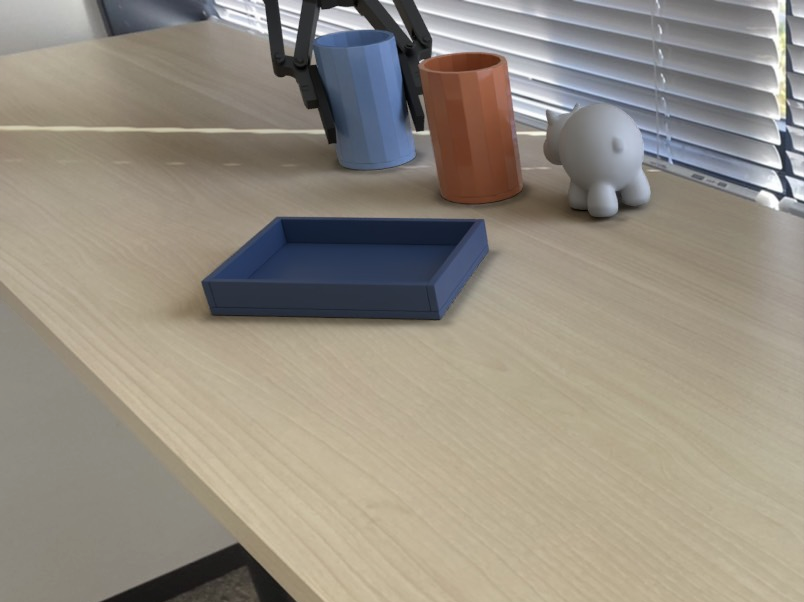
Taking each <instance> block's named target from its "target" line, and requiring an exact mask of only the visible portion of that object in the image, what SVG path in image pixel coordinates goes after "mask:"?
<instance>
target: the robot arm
mask: <svg viewBox="0 0 804 602" xmlns="http://www.w3.org/2000/svg"><path fill="white" fill-rule="evenodd" d="M391 1H392V2H393V5H394V7H395V9H396V11H397V13H398V15H399V17H400V19H401V22H402V23H403V25H404V27H405V29H406V31H407V33H408V35H409V36H408V35H407V33H406V32H405V31H404V30H403V29H402V27H401V26H400V25H399V24H398V23H397V21H396V20H395V19H394V18H393V16H392V15H391V14H390V13H389V11H388V10H387V9H386V7H384V5H383V4H382V3H381V1H380V0H302V1H301V7H300V14H299V21H298V27H297V32H296V38H295V44H294V51H293V56H292V55H288V54H286V51H285V43H284V36H283V28H282V18H281V12H280V11H281V10H280V5H279V0H262V3H263V5H264V11H265V20H266V27H267V35H268V42H269V43H268V44H269V52H270V59H271V64H272V71H273V74H274V75H275V77H277V78H284V77H286V76H287V77H290V78H291V77H292V78H293V79H294V80H295V82H296V85H298V89H299V92H300V95H301V98H302V102H303V105H304V106H305V108H306V109H307V110H315V109H317V111H318V114H319V117H320V121H321V123H322V127H323V131H324V133H325V137H326V141H327V143H328V145H335V144H336V143H337V140H336V128H335V125H334V121H333V118H332V115H331V111H330V108H329V105H328V101H327V98H326V95H325V91H324V88H323V85H322V82H321V78H320V75H319V72H318V68H317V64H312V58H313V54H314V50H313V46H312V40H314V39H315V38H316V32H317V25H318V22H319V19H320V14H321V13H320V12H321V11H323V10H331V9H333V8H336V7H340V8H341V7H342V8H352V7H353V8H354V10H356V12H358V14H359V15H360V16H361V17H363V18H364V19H366V21H367V22H368V23H369V25H370V26H371V27H372V28H373V30H383V31H388V32H391V33H393V34H394V36H395V41H396V47H397V52H398V58H399V63H400V68H401V74H402V79H403V85H404V90H405V96H406V101H407V107H408V111H409V115H410V116H411V119H412V123H413V126H414V130H415V132H416V133H418V132H419V133H420V132H425V117H426V116H425V115H426V114H425V112H424V109H423V105H422V102H421V99H420V96H423V91H422V86H421V80H420V74H419V69H418V64H419V63H421V62H422V61H423V60H426V59H428V58H431V57H433V37H432V35H431V33H430V30H429V29H428V27H427V25H426V23H425V20H424V19H423V17H422V15H421V13H420V11H419V8H418V6H417V5H416V3H415V0H391Z"/></svg>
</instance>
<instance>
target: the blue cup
mask: <svg viewBox="0 0 804 602" xmlns="http://www.w3.org/2000/svg"><path fill="white" fill-rule="evenodd" d="M312 46H313V54H314V59H315V65H317V68H318V72H319V75H320V78H321V82H322V85H323V88H324V91H325V95H326V98H327V101H328V105H329V108H330V111H331V115H332V118H333V121H334V125H335V128H336V140H337V143H336V144H334V149H335V154H336V157H337V160H338V164H339V165H340V166H341V167H344V168H346V169H351V170H359V171H374V170H383V169H390V168H394V167H398V166H401V165H404V164H407V163H409V162H410V161H412V160H414V159H415V157H416V155H417V152H416V145H415V139H414V135H413V134H414V133H413V129H412V123H411V119H410V111H409V107H408V104H407V101H406V96H405V90H404V85H403V79H402V74H401V68H400V63H399V58H398V52H397V47H396V41H395V36H394V34H393V33H391V32H388V31H383V30H375V29H350V30H341V31H335V32H329V33H326V34H323V35H319V36H317V37H315V39H314V40H312Z"/></svg>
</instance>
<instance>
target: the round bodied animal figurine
mask: <svg viewBox="0 0 804 602" xmlns="http://www.w3.org/2000/svg"><path fill="white" fill-rule="evenodd" d="M545 118H546V121H547V126H546V135H545V140H544V142H543V147H542V148H543V149H542V150H543V155H544V157H545V159H546V160H547V161H548V162H549V163H550V164H553V165H555V166H562V168H563V169H564V171H565V173H566V175H567V176H568V177H569V180H570V181H569V186H568V192H567V199H568V200H567V201H568V204H569V206H570V208H572V209H574V210H579V211H586V210H588V213H589V215H590V216H592V217H594V218H609V217H612V216H615V215H616V214H617V213H618V210H619V202H618V201H619V200H622V202H623V203H624V204H625V205H627V206H632V207H633V206H634V207H635V206H643V205H646V204H647V203H648V202H649V201H650V199H651V187H650V183H649V180H648V177H647V176H646V173H645V172H644V169H643V161H644V157H645V145H644V143H645V142H644V138H643V135H642V132H641V130H640V128H639V127H638V124H637V123H636V122H635V120H634V119H633V118H632V117H631V116H630V115H629V114H628V113H627V112H626V111H624V110H622V109H621V108H619V107H617V106H615V105H611V104H607V103H593V104H588V105H586V106H583V107H581V103H579V102H576V103H575V104H574V106H573V107H572V110H571V111H570V112H564V113H561V114H558V115H557V114H555V112H553V111H552V110H550V109H546V110H545Z"/></svg>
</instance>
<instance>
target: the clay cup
mask: <svg viewBox="0 0 804 602" xmlns="http://www.w3.org/2000/svg"><path fill="white" fill-rule="evenodd" d="M418 69H419V74H420V80H421V86H422V91H423V95H422V96H423V102H424V108H425V115H426V119H427V125H428V131H429V138H430V142H431V147H432V154H433V159H434V167H435V172H436V177H437V183H438V187H439V192H440V195H441V197H442V198H443V199H445V200H447V201H449V202H452V203H457V204H465V205H466V204H470V205H471V204H473V205H474V204H475V205H476V204H477V205H478V204H488V203H494V202H500V201H503V200H507V199H509V198H512V197H514V196H516V195H518V194H519V193H521V191H522V190H523V187H524V183H523V181H524V179H523V173H522V165H521V164H522V163H521V158H520V150H519V149H520V148H519V142H518V136H517V135H518V134H517V129H516V128H517V126H516V119H515V111H514V104H513V97H512V96H513V95H512V88H511V82H510V74H509V65H508V59H507V58H506V56H504V55H502V54H498V53H495V52H485V51H464V52H452V53H451V52H450V53H445V54H440V55H434V56H431V58H428V59H426V60H424V59H423V60H421V61H420V62H419V64H418Z"/></svg>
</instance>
